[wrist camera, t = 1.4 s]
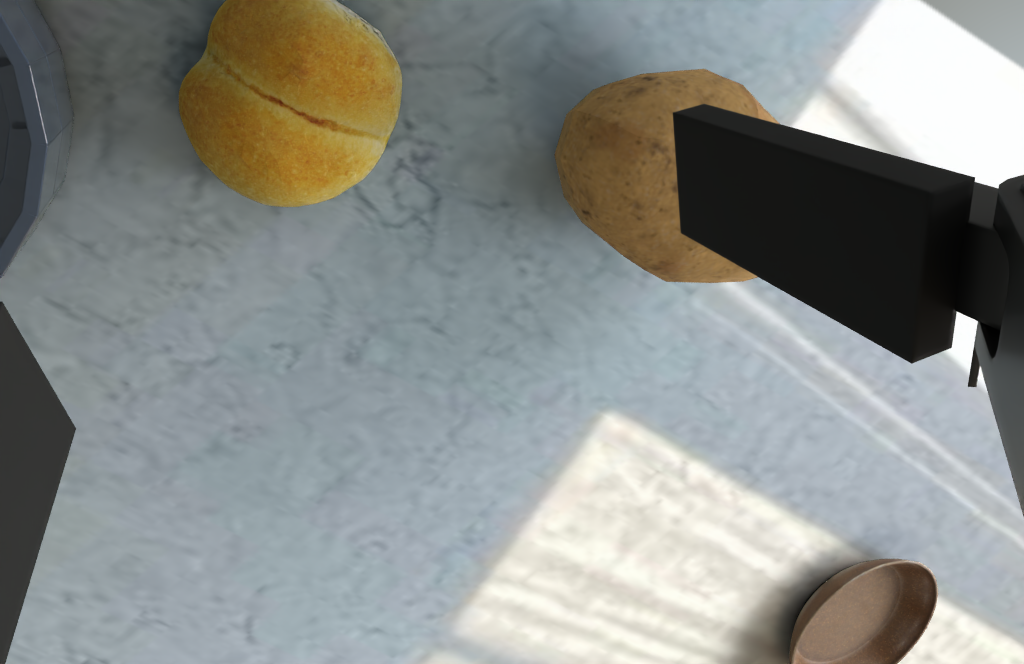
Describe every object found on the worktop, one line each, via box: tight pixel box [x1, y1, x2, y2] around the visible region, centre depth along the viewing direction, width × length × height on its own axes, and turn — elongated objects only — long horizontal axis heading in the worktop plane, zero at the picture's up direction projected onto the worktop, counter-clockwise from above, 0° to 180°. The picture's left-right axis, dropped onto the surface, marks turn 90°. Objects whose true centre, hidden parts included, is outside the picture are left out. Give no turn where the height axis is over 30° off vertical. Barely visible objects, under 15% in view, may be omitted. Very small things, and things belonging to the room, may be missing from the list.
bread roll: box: [179, 0, 402, 207], centre depth 30 cm, size 8×9×4 cm
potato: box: [555, 69, 779, 283], centre depth 36 cm, size 10×14×8 cm
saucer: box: [790, 559, 938, 664], centre depth 63 cm, size 15×15×3 cm
